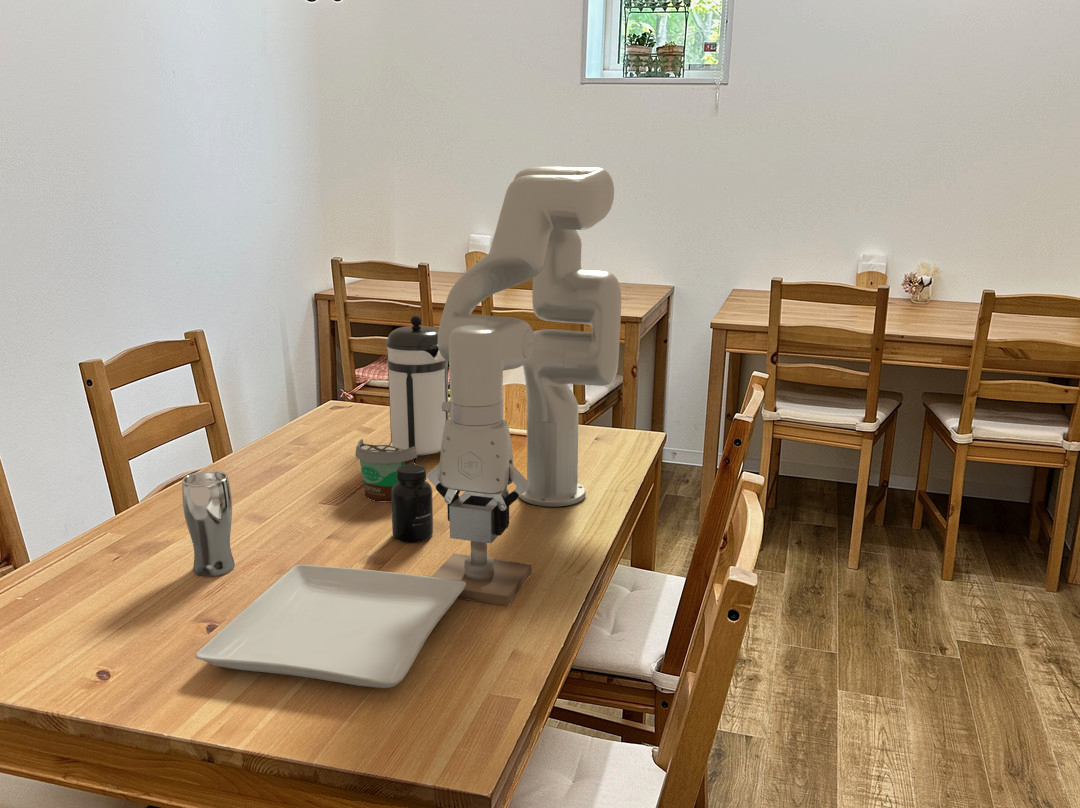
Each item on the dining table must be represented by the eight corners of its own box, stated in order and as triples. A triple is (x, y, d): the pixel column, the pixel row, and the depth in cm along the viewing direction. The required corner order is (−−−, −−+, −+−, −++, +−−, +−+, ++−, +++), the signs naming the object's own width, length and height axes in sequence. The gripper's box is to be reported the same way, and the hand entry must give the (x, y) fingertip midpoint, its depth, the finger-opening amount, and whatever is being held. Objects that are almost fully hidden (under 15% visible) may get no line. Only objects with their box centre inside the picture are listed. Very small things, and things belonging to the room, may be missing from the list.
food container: (344, 498, 170) (341, 447, 168) (362, 488, 176) (359, 438, 173) (401, 508, 166) (399, 456, 163) (418, 497, 171) (416, 446, 169)
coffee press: (466, 444, 202) (463, 310, 194) (442, 468, 187) (438, 323, 179) (392, 438, 206) (386, 306, 198) (363, 461, 191) (356, 319, 183)
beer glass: (247, 562, 144) (238, 473, 140) (218, 581, 138) (209, 488, 134) (210, 556, 146) (201, 467, 142) (180, 574, 140) (170, 482, 136)
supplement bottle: (426, 545, 150) (423, 477, 147) (386, 542, 152) (383, 474, 148) (438, 529, 157) (436, 463, 154) (400, 525, 158) (398, 460, 155)
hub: (466, 521, 139) (465, 490, 138) (505, 526, 137) (505, 495, 136) (449, 538, 133) (449, 506, 132) (491, 543, 131) (490, 511, 130)
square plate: (469, 602, 133) (468, 577, 131) (399, 710, 107) (398, 681, 106) (298, 582, 138) (296, 558, 137) (193, 680, 113) (190, 652, 112)
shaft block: (453, 562, 144) (452, 512, 142) (531, 573, 141) (531, 522, 138) (424, 593, 134) (422, 539, 132) (508, 606, 130) (507, 551, 128)
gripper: (410, 414, 129) (414, 531, 134) (526, 425, 124) (526, 546, 129) (431, 401, 136) (434, 513, 141) (542, 410, 131) (542, 526, 136)
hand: (478, 528), depth 135 cm, fingers closed on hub, 6 cm apart
